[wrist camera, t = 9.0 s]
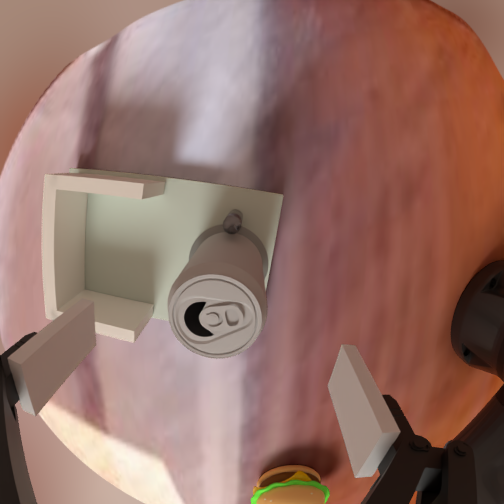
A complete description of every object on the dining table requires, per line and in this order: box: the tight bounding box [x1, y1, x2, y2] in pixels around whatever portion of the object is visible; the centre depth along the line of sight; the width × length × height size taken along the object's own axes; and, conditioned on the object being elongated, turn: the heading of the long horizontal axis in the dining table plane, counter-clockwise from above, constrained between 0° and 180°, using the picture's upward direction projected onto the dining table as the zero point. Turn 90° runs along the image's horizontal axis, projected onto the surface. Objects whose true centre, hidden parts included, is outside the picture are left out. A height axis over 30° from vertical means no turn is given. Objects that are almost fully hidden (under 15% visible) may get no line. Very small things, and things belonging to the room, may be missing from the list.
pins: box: [223, 209, 243, 234], centre depth 28 cm, size 1×10×5 cm, turn 171°
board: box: [69, 168, 283, 321], centre depth 30 cm, size 22×14×2 cm, turn 81°
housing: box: [42, 173, 165, 343], centre depth 26 cm, size 10×14×6 cm
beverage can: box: [167, 232, 267, 358], centre depth 24 cm, size 6×6×12 cm
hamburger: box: [251, 465, 330, 504], centre depth 36 cm, size 12×12×9 cm
